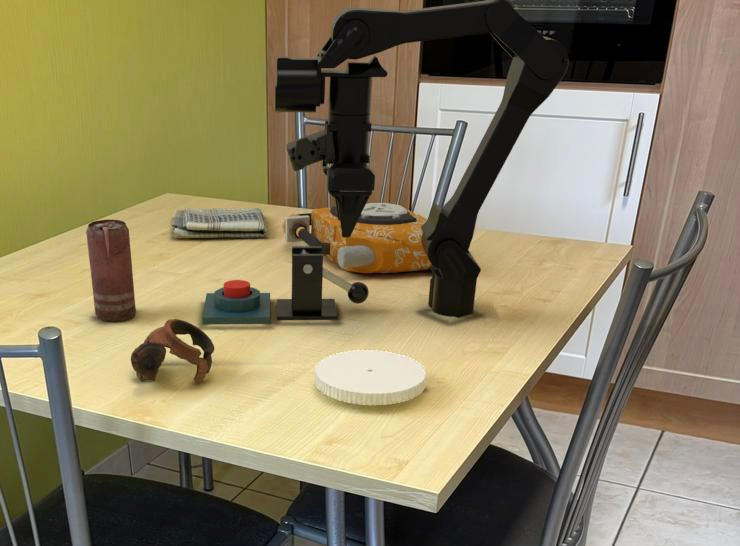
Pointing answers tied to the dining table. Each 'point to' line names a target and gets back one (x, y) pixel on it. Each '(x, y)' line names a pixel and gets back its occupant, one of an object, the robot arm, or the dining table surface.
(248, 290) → the red button
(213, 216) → the dish towel
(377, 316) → the dining table surface
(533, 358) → the dining table surface
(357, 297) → the lever handle
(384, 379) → the plastic lid
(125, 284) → the can
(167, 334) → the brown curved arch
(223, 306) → the button housing
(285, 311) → the lever bracket
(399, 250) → the device
